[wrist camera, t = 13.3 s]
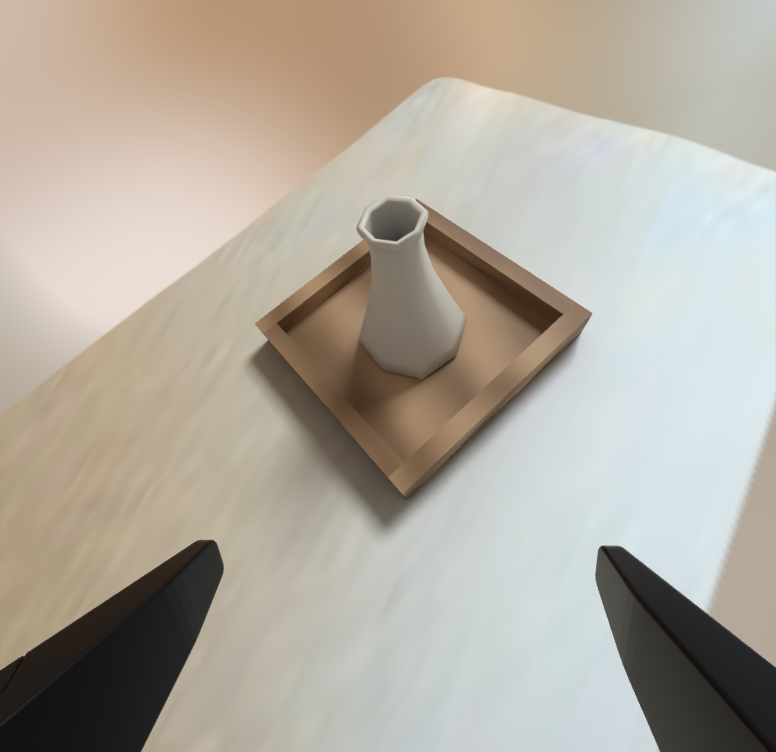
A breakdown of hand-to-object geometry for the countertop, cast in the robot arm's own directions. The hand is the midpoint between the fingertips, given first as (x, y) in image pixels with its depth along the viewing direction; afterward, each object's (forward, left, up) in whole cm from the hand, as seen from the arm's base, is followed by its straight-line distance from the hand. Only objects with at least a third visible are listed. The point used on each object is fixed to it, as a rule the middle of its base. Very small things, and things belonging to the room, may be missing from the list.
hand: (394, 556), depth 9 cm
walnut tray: (+9, +11, -14) cm, 20 cm away
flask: (+9, +11, -13) cm, 19 cm away
